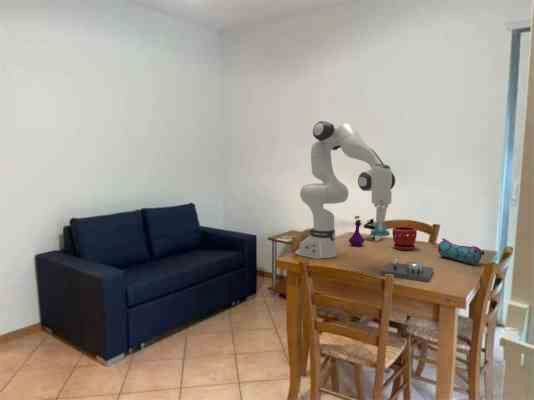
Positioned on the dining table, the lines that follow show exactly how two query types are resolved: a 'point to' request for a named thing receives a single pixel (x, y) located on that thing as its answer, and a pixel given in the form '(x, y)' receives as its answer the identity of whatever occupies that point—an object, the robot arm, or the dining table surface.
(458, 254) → the pencil case
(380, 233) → the planet gear
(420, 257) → the dining table surface
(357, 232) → the perfume bottle
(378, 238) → the black-topped pedestal
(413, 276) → the carrier plate
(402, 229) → the plant pot
